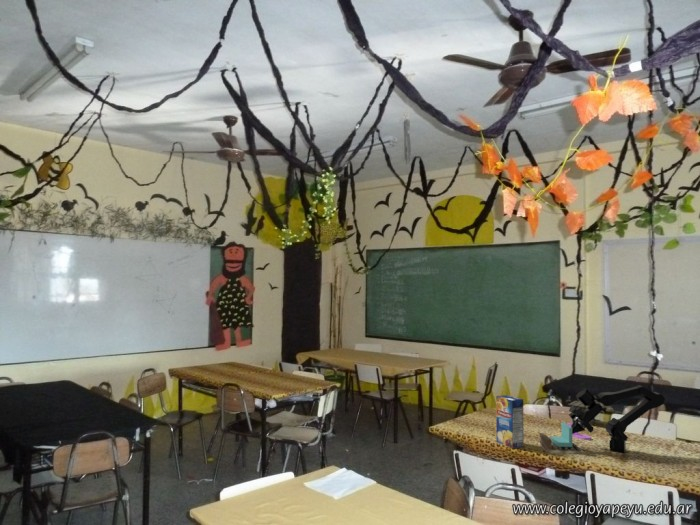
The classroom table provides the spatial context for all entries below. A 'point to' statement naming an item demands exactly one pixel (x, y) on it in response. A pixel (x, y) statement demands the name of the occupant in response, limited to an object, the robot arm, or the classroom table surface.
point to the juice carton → (509, 421)
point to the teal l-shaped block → (563, 436)
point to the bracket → (579, 434)
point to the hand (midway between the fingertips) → (568, 433)
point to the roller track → (551, 447)
